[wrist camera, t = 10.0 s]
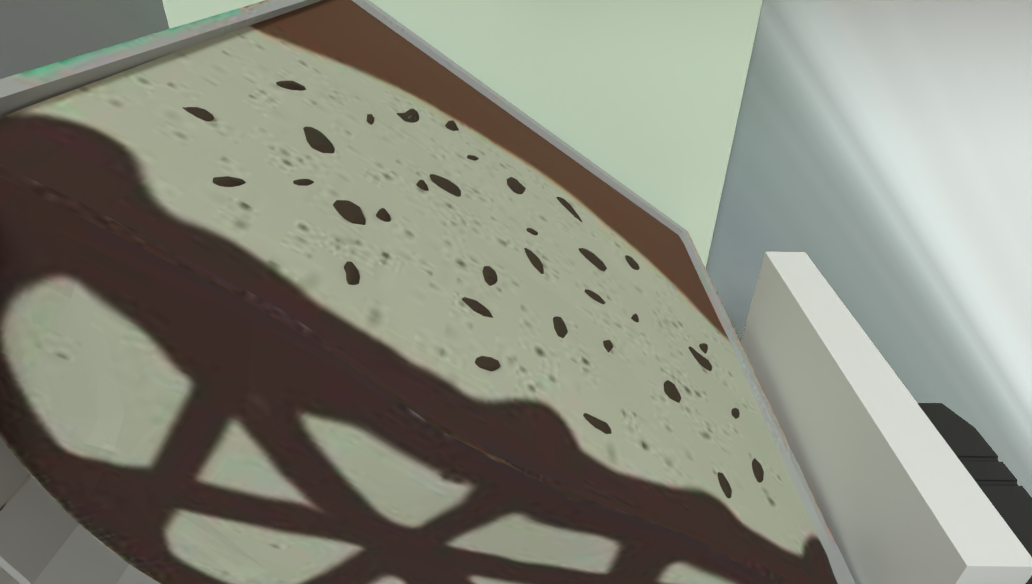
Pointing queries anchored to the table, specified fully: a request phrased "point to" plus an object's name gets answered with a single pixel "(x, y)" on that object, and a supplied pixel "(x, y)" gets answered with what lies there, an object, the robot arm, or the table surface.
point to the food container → (359, 333)
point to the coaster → (601, 81)
